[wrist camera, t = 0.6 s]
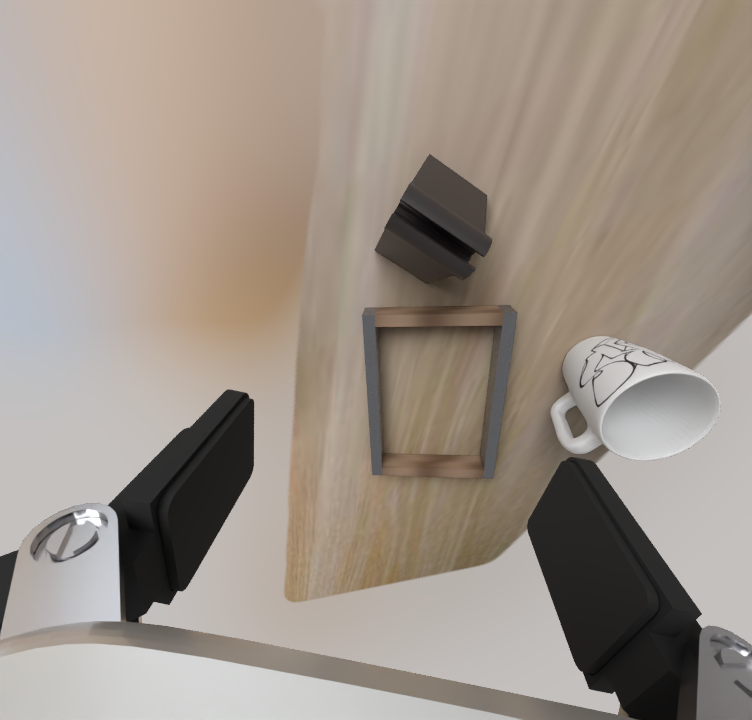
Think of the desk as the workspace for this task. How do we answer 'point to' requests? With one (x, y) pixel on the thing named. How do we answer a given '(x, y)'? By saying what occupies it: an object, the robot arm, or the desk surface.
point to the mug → (633, 401)
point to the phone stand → (437, 225)
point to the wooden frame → (496, 391)
